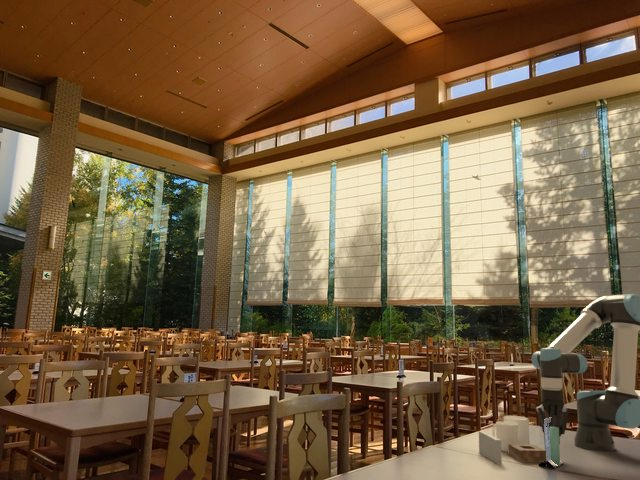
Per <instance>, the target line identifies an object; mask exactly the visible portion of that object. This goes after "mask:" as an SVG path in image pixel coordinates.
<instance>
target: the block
mask: <svg viewBox="0 0 640 480" xmlns="http://www.w3.org/2000/svg"><path fill="white" fill-rule="evenodd" d="M508 445H509V452H508V455H509V456H510V457H511V458H513V459H514V460H517V461H518V462H519V463H544V462H543V461H545V460H546V451H547V450H546V449H543V448H542V447H540V446H538V445H535V444H530V445H529V444H508ZM545 450H546V451H545Z"/></svg>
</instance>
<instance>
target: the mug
mask: <svg viewBox="0 0 640 480" xmlns="http://www.w3.org/2000/svg"><path fill="white" fill-rule="evenodd" d="M503 422H513V423H517V424H518V444H529V445H531V444H530V419H529V418H528V417H525V416H518V415H504V416H503Z"/></svg>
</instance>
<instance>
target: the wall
mask: <svg viewBox="0 0 640 480" xmlns="http://www.w3.org/2000/svg"><path fill="white" fill-rule="evenodd" d="M478 453H479V454H480V455H482V456H483V457H485V458H487V459H488V460H490V461H491V462H493V463H494V464H497V465H500V464H502V460H503V459H502V451H501V440H500V439H498V438H496V437H494V436H493V434H490V433H488V432H486V431H485V430H478Z"/></svg>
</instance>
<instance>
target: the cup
mask: <svg viewBox="0 0 640 480" xmlns="http://www.w3.org/2000/svg"><path fill="white" fill-rule="evenodd" d="M492 436H494V437H496V438H498V439H500V440H501V452H502V451H503V452H508V453H509V445H508V444H518V424H517V423H513V422H504V420H503V421H496V422H495V423H494V424H493V426H492Z"/></svg>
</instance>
